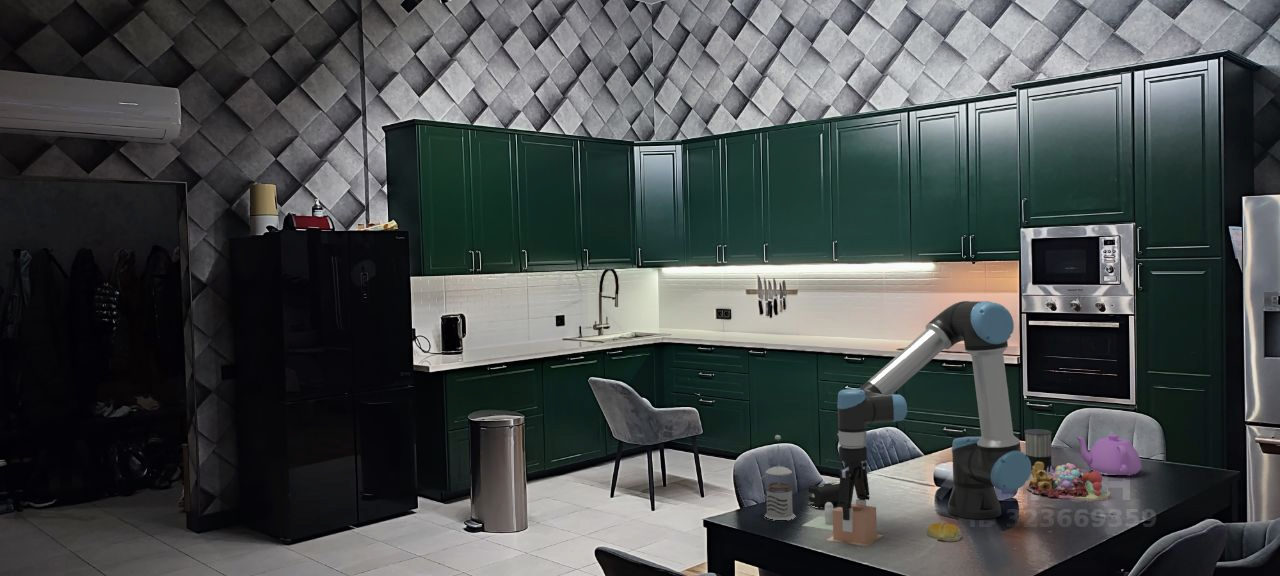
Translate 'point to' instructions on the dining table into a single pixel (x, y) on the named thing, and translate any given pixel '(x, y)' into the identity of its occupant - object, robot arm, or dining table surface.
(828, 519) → the green base with peg
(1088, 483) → the plate of food
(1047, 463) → the milk frother
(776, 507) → the french press
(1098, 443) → the teapot
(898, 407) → the robot arm
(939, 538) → the bread roll
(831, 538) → the stand
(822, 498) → the black rounded block
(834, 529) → the collar
